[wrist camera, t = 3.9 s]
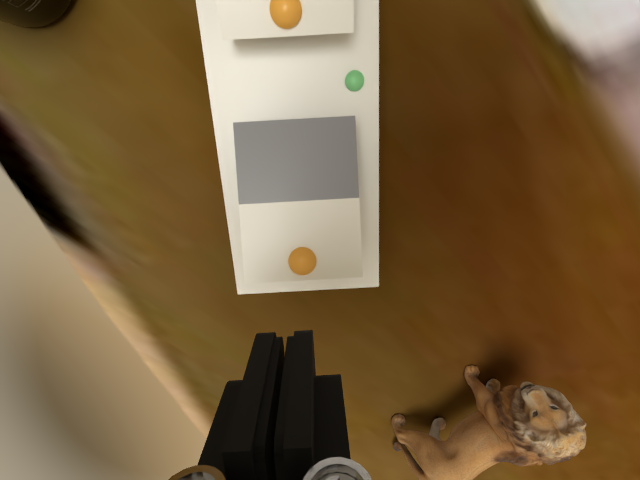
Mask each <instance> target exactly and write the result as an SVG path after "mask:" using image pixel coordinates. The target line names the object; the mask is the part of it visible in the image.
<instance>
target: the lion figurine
mask: <svg viewBox="0 0 640 480" xmlns="http://www.w3.org/2000/svg"><path fill="white" fill-rule="evenodd" d="M478 375H479V370H478V367H477V366H474V365H470V366H466V368H465V372H464V376H465V378H466V380H467V383H468V385H469V386H470V387H471V388H472V390H473V393H474V396H475V399H476V405H477V408H478V410H479V411H477V412H475V413H473V414H471V415H469V416H467V417H465V418H464V419H463V420H461V421H460V422H459V423H458V424H457V425H456V426H455V427H454V428H453V429H452V431H451V432H450V435H449V438H448V440H446V441H441V439H440V437H439V431H440V430H442V429H444V428H445V427H446V421H445V420H444V419H443V418H437V419H435V420H434V421H433V422H432V425H431V428H430V432H429V434H426V433H424V432H421V431H413V430H405V429H402V428H401V427H402V426H403V425H404V424H405V417H404V416H402V415H401V414H396V415H394V416H393V418H392V427H393V430H394V432H395V434H396V437H397V439H398V441H399V442H395V443H394V445H393V449H395V450H396V451H399V450H402V452H403V454H404V456H405V458H406V460H407V462H408V464H409V466H410V468H411V469H412V471H413V472H414V474H415V475H416V476H417V477H418V478H419V479H420V480H473V479H474V478H475V477H476V476H477V475H478V474H480V473H481V472H483V471H484V470H486V469H487V468H489V467H491V466H492V465H494V464H496V463H498V462H509V463H512V464H514V465H518V466H527V465H534V464H537V465H542V463H543V462H544V463H546V464H548V465H552V464H555V463H556V462H563V461H564V460H570V458H571V456H576V455H578V453H579V452H580V451H581V450H582V449H584V448H585V444H586V432H585V429H584V428H585V426H586V422H584V421H583V420H582V418H581V417H579V414H578V413H576V411H575V410H573V407H572V405H571V403H570V402H569V401H568V400H567V399H566V398H565V396H564V395H563V394H562V393H560V392H558V391H556V390H555V389H552V388H549V387H544V386H538V385H533V384H532V383H530V382H523V383H522V384H521V386H520V387H517V386H514V385H509V386H506V387H504V388H502V389H501V391H499V389H500V382H499V381H498V380H496V379H491V380H489V381H488V382H487V384H486V386H484V385H483V384H482V383H481V382H480V381H479V380H478V378H477V377H478ZM404 444H405V445H407V446H409V447H410V448H411V449H412V450H413V452H414V453H415V455H416V456H417V459H418V461H419V463H420V465H421V467H422V469H423V470H422V469H421V468H420V466H419V465H418V464H417V462H416V461H415V459H414V458H413V457H412V455H411V453H410V452H409V450H408V449H407V447H406V446H405V445H404Z"/></svg>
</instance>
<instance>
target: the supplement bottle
mask: <svg viewBox="0 0 640 480" xmlns="http://www.w3.org/2000/svg"><path fill="white" fill-rule="evenodd" d="M70 3H71V0H0V20H1V21H4V22H7V23H10V24H13V25H17V26H22V27H40V26H44V25H47V24H50V23H52V22H54V21H55V20H57V19H58V18H59V17H61V16H62V15H63V14H64V12H65V11H66V10H67V8H68V6H69V5H70Z"/></svg>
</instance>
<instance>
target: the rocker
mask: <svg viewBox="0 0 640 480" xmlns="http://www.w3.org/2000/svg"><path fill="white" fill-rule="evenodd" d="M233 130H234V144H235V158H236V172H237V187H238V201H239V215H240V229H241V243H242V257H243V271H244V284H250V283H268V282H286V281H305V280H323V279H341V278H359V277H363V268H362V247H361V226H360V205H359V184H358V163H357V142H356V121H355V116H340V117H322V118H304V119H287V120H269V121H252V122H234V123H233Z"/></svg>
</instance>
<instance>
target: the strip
mask: <svg viewBox="0 0 640 480" xmlns="http://www.w3.org/2000/svg"><path fill="white" fill-rule="evenodd" d="M196 5H197V12H198V19H199V26H200V33H201V40H202V47H203V54H204V61H205V68H206V75H207V82H208V89H209V96H210V103H211V110H212V117H213V124H214V131H215V138H216V145H217V152H218V159H219V166H220V173H221V180H222V187H223V194H224V201H225V208H226V215H227V222H228V229H229V236H230V243H231V250H232V257H233V264H234V271H235V278H236V285H237V292H238V294H254V293H273V292H291V291H309V290H327V289H346V288H364V287H379V0H354V33H339V34H322V35H304V36H287V37H270V38H253V39H235V40H222V34H221V28H220V23H219V17H218V11H217V5H216V0H196ZM340 116H355V121H356V142H357V163H358V184H359V205H360V226H361V247H362V268H363V277H359V278H341V279H323V280H305V281H286V282H268V283H250V284H244V271H243V257H242V243H241V229H240V215H239V201H238V187H237V172H236V158H235V144H234V130H233V123H234V122H252V121H269V120H287V119H304V118H322V117H340Z"/></svg>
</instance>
